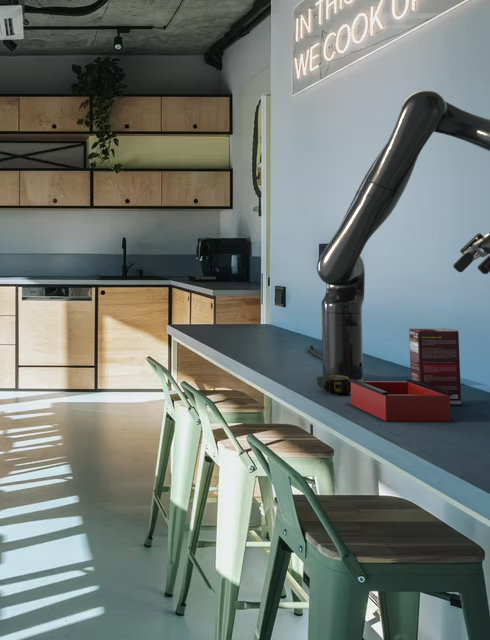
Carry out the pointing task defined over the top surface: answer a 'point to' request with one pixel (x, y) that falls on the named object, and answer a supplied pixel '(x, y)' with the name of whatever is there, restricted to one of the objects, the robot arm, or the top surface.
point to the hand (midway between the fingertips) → (468, 270)
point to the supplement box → (436, 359)
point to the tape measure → (334, 383)
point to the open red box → (401, 400)
